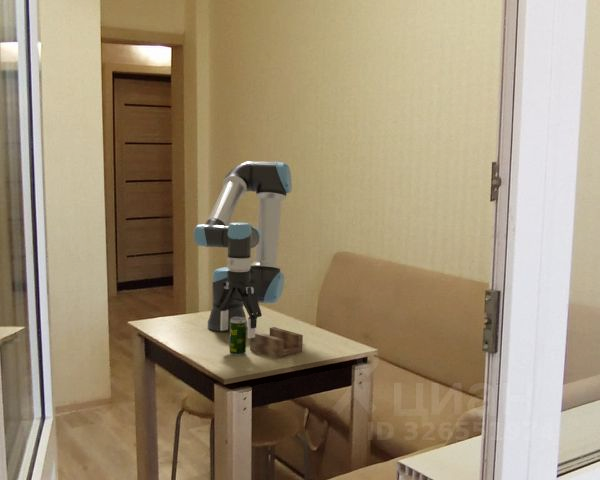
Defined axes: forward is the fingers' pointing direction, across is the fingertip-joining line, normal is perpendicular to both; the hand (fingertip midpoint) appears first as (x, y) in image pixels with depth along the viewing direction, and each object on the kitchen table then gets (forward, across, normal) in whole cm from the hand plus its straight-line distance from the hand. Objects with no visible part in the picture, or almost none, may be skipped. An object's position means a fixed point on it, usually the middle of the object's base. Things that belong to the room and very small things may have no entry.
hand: (237, 333), depth 226 cm
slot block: (+7, +6, +12) cm, 15 cm away
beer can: (+7, 0, 0) cm, 7 cm away
